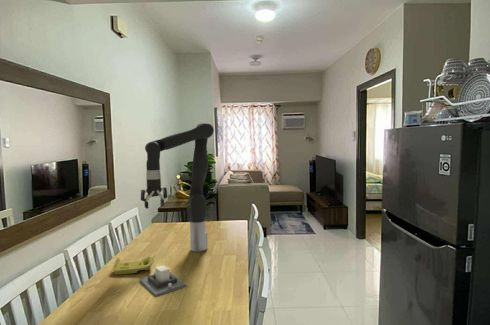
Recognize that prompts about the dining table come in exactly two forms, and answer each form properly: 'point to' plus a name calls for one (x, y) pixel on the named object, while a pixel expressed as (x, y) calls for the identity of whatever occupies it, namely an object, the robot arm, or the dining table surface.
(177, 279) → the housing plate
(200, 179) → the robot arm
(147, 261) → the plastic component
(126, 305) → the dining table surface
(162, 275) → the block
